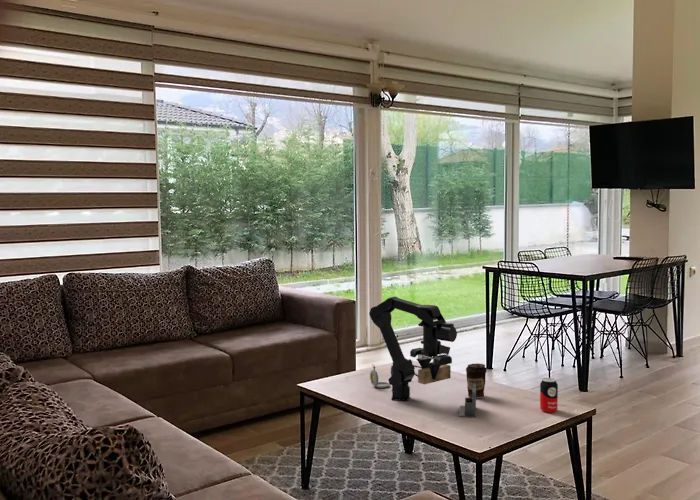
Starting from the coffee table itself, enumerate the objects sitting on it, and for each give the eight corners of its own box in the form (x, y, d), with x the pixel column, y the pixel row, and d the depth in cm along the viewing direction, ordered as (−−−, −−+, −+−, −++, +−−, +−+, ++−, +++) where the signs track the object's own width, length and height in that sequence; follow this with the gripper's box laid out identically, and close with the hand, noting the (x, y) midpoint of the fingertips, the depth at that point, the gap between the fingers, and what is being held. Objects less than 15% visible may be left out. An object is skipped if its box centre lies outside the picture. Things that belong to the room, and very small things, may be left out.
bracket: (459, 416, 251) (459, 391, 250) (460, 406, 263) (460, 382, 262) (475, 417, 250) (475, 392, 249) (475, 407, 262) (476, 383, 261)
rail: (424, 384, 259) (424, 371, 259) (418, 382, 262) (418, 369, 262) (450, 378, 268) (450, 365, 267) (444, 376, 271) (444, 363, 270)
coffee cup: (486, 400, 270) (486, 368, 269) (465, 399, 272) (465, 367, 271) (486, 393, 279) (486, 362, 278) (466, 392, 281) (466, 362, 279)
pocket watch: (392, 385, 293) (392, 362, 292) (382, 390, 285) (382, 367, 285) (375, 383, 297) (375, 360, 296) (365, 387, 290) (365, 364, 289)
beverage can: (537, 411, 256) (538, 380, 255) (543, 407, 261) (543, 376, 260) (554, 414, 252) (554, 382, 251) (559, 409, 257) (560, 378, 256)
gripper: (462, 339, 259) (462, 380, 260) (431, 331, 275) (431, 369, 276) (440, 343, 253) (440, 384, 254) (409, 335, 268) (409, 374, 270)
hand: (430, 378), depth 264 cm, fingers closed on rail, 4 cm apart
